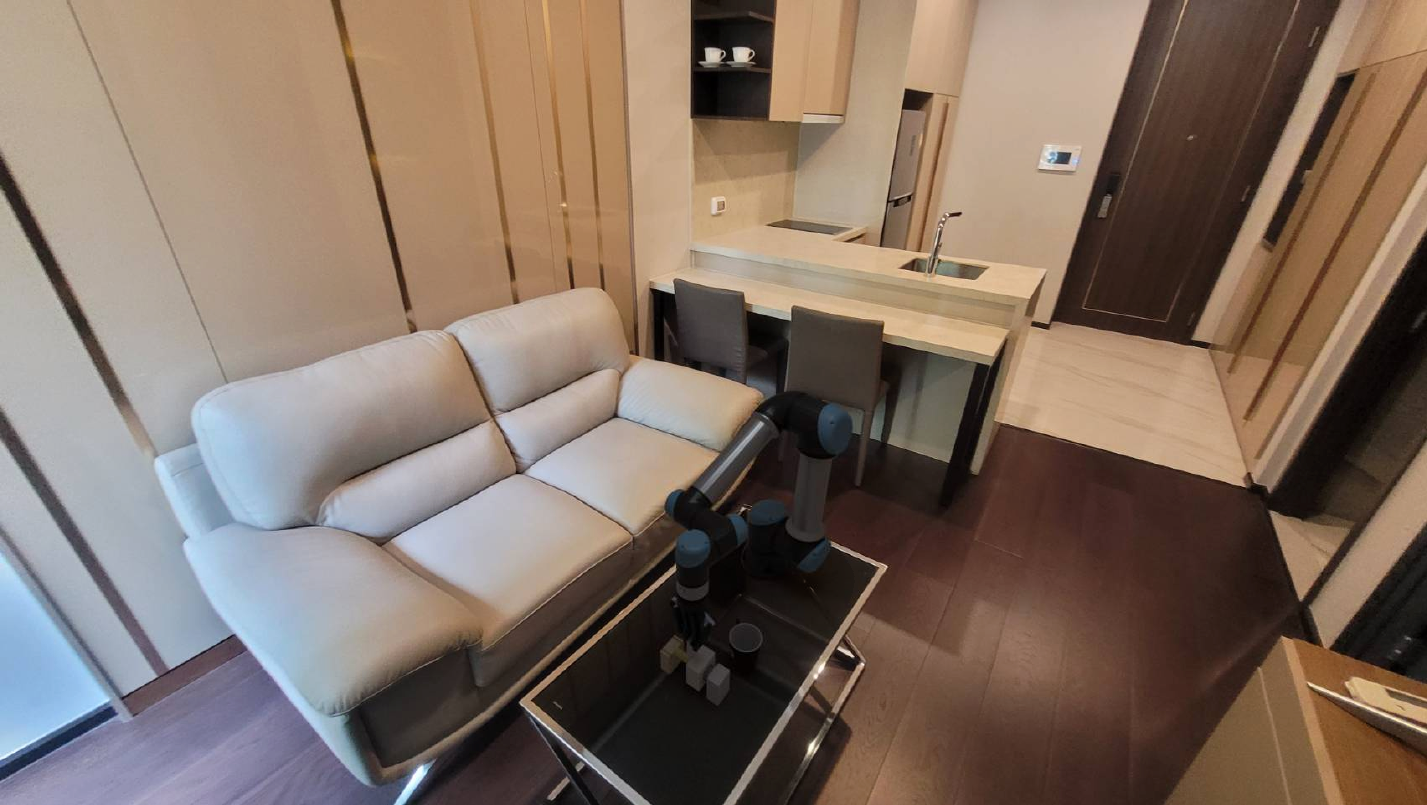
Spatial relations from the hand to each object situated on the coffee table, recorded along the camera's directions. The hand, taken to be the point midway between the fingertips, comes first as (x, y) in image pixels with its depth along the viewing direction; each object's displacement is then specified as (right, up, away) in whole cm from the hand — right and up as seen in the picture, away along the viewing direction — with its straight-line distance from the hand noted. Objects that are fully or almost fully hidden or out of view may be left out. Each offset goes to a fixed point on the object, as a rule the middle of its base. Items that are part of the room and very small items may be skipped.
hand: (692, 655), depth 132 cm
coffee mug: (+14, -5, +10) cm, 18 cm away
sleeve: (+2, -6, +2) cm, 7 cm away
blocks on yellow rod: (+1, -8, +4) cm, 9 cm away
